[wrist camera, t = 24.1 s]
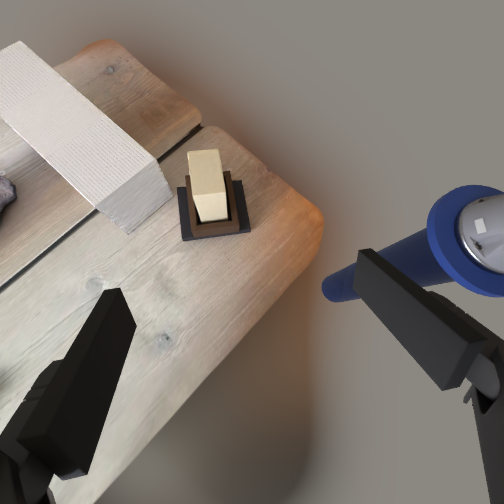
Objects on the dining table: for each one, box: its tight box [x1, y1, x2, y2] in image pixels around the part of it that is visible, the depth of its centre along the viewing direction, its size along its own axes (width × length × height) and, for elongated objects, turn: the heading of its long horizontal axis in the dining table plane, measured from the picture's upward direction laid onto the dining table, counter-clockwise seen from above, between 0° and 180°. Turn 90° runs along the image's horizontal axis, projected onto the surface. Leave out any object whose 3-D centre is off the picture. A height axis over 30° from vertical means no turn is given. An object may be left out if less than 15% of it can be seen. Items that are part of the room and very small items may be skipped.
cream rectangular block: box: [187, 149, 228, 225], centre depth 38 cm, size 4×7×11 cm, turn 10°
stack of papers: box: [0, 41, 174, 234], centre depth 41 cm, size 32×11×11 cm, turn 48°
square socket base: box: [177, 171, 251, 241], centre depth 42 cm, size 12×10×4 cm
